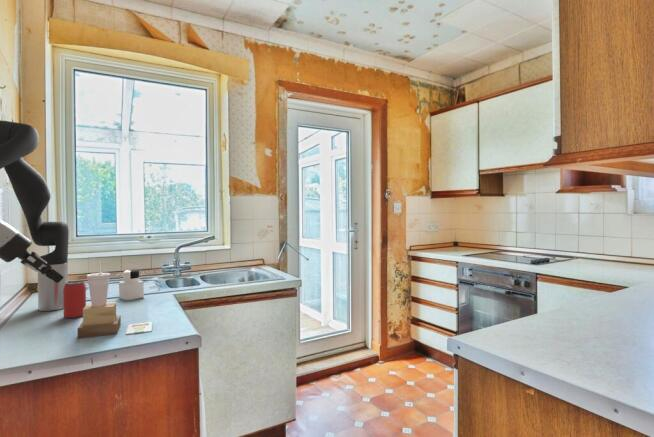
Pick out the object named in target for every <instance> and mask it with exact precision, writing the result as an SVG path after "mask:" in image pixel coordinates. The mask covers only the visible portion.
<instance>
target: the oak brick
mask: <svg viewBox="0 0 654 437" xmlns="http://www.w3.org/2000/svg"><path fill="white" fill-rule="evenodd" d="M116 316H117V302H116V301H112V302H111V301H110V302H106V305H105V306H101V307H92V303H86V306H85V307H84V308H83V316H82V322H83V326H86V325H96V324H105V323H114V321H115V319H116Z"/></svg>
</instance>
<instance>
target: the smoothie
mask: <svg viewBox="0 0 654 437" xmlns="http://www.w3.org/2000/svg"><path fill="white" fill-rule="evenodd" d="M98 263H99V264H98V266H99V272H96V273H94V272H93V273H90V274H89V273H88V274H86V280H87V285H88V290H89V296H90V302H91V303H90V304H92V307H101V306H105V305H106V303H107V302H108V292H109V291H108V290H109V284H110V278H111V273H110V272H102V271H103V270H102V266H103V265H102V259H100V260H99V262H98Z"/></svg>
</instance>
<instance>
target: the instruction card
mask: <svg viewBox="0 0 654 437" xmlns="http://www.w3.org/2000/svg"><path fill="white" fill-rule="evenodd" d="M152 329H153V321H147V322H139V323H130V324H129V323H128V326H127V328H126V331H125V335H126V336H127V335H136V334H142V333H143V334H144V333H149V332H151V333H152Z"/></svg>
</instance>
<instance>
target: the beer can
mask: <svg viewBox="0 0 654 437" xmlns="http://www.w3.org/2000/svg"><path fill="white" fill-rule="evenodd" d="M86 288H87V287H86V285H85V282H84V281H82V280H76V281H68V282H67V283H65V286H64V289H63V305H64V308H63V317H64V318H65V319H76V318H81V317H83V308H84V307H85V306H86V305H87V298H86V297H87V294H86V293H87V292H86V290H87V289H86Z"/></svg>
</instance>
